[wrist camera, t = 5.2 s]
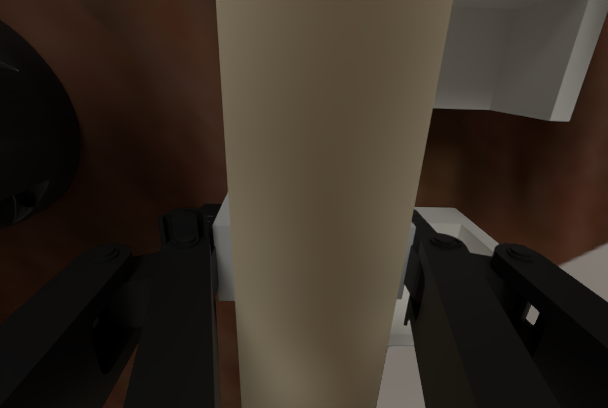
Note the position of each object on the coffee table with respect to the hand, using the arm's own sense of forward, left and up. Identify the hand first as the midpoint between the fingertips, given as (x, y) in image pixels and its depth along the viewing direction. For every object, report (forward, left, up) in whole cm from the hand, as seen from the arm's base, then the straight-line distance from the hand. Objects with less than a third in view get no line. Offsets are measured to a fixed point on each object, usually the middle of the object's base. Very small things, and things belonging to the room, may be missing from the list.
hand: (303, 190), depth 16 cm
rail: (0, 0, +3) cm, 3 cm away
